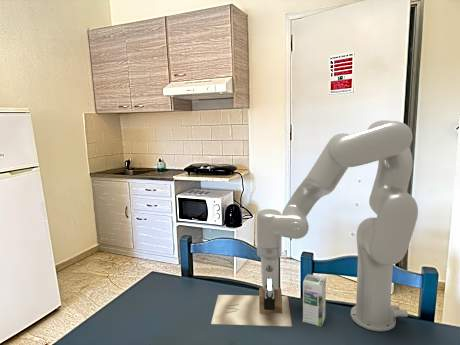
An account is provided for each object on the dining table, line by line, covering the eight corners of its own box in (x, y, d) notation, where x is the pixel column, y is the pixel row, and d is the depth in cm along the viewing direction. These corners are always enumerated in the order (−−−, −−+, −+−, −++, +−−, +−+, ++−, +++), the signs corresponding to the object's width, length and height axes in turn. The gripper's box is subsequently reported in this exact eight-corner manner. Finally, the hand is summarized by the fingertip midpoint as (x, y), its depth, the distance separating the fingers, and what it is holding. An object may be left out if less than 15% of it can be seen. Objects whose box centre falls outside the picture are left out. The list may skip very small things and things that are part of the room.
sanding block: (281, 305, 104) (281, 288, 103) (282, 314, 100) (282, 296, 98) (259, 304, 105) (259, 288, 104) (259, 314, 100) (259, 296, 99)
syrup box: (302, 326, 96) (302, 281, 94) (307, 315, 101) (307, 272, 99) (321, 331, 93) (322, 285, 91) (325, 320, 99) (326, 276, 96)
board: (287, 300, 110) (287, 296, 110) (291, 330, 94) (291, 326, 94) (218, 298, 112) (218, 294, 112) (211, 328, 97) (211, 323, 96)
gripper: (283, 262, 90) (282, 317, 93) (280, 239, 107) (279, 286, 110) (256, 261, 91) (256, 316, 94) (257, 238, 108) (257, 285, 111)
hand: (269, 300), depth 102 cm, fingers open, 9 cm apart
